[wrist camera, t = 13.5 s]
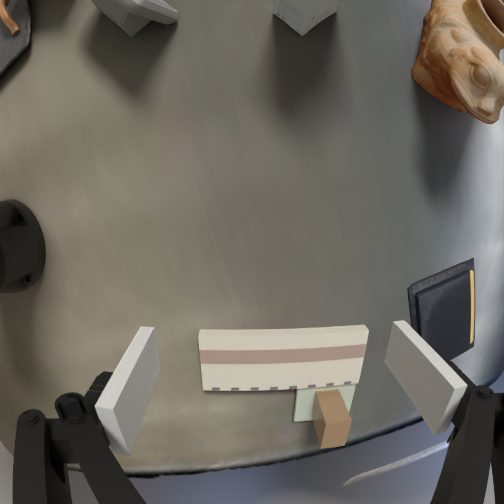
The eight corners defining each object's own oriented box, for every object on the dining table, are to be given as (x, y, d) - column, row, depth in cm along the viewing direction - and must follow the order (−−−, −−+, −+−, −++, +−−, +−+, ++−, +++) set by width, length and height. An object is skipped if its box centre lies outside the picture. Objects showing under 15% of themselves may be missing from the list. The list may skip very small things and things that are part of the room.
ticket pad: (204, 382, 47) (203, 390, 45) (199, 329, 45) (198, 336, 43) (354, 376, 48) (358, 383, 46) (364, 324, 46) (369, 330, 44)
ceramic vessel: (396, 102, 38) (457, 80, 23) (422, -12, 32) (466, -49, 17) (463, 145, 39) (529, 143, 25) (480, 30, 34) (530, 8, 19)
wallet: (410, 287, 43) (480, 258, 43) (405, 283, 45) (473, 255, 44) (414, 382, 48) (476, 351, 47) (410, 377, 50) (471, 346, 49)
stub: (293, 417, 50) (300, 454, 41) (297, 384, 48) (306, 421, 39) (346, 412, 50) (360, 446, 41) (354, 379, 48) (371, 412, 39)
